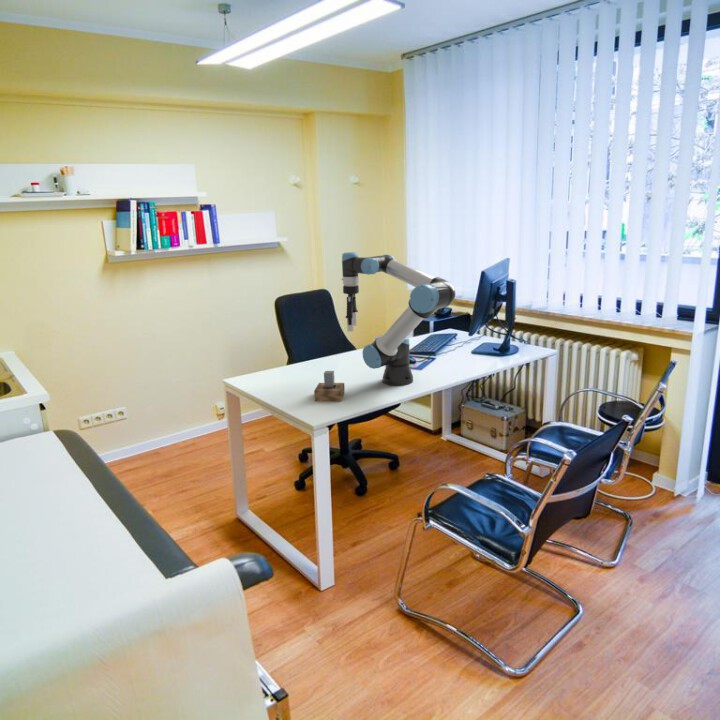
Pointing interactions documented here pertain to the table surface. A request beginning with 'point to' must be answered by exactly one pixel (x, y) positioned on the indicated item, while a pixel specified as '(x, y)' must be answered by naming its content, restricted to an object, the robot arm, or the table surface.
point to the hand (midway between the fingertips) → (352, 328)
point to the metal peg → (329, 380)
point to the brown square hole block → (329, 392)
